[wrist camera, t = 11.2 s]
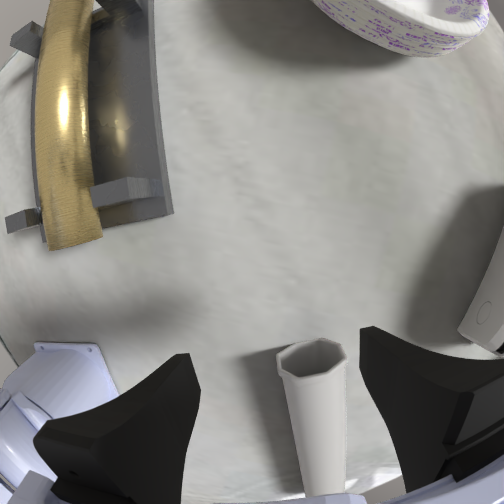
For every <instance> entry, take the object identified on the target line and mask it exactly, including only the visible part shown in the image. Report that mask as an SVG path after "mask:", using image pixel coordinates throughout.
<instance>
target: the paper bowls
mask: <svg viewBox="0 0 504 504" xmlns="http://www.w3.org/2000/svg"><path fill="white" fill-rule="evenodd" d="M311 1H313V2H314V3H315V4H316V6H318V7H319V8H320V9H321V10H322V11H323V12H324V13H326V14H327V15H328V16H329V17H330V18H332V19H333V20H334V21H336V22H337V23H338V24H340V25H341V26H344V28H346V29H347V30H350V31H352V32H353V33H355V34H357V35H359V36H361V37H362V38H364V39H366V40H368V41H370V42H373V43H375V44H377V45H379V46H381V47H384V48H386V49H388V50H391V51H394V52H397V53H401V54H404V55H408V56H414V57H426V58H430V57H438V56H442V55H446V54H448V53H450V52H452V51H454V50H456V49H457V48H459V47H461V46H463V45H464V44H466V43H467V42H468V41H470V40H471V39H472V38H474V37H476V36H478V35H480V34H481V33H482V32H483V31H484V29H485V28H486V26H487V24H488V21H489V7H488V3H487V0H311Z"/></svg>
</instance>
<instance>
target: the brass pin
mask: <svg viewBox="0 0 504 504" xmlns="http://www.w3.org/2000/svg"><path fill="white" fill-rule="evenodd" d="M93 4H94V0H50V4H49V8H48V12H47V16H46V21H45V26H44V31H43V36H42V42H41V48H40V55H39V63H38V72H37V83H36V98H35V152H36V168H37V179H38V189H39V197H40V205H41V211H42V218H43V224H44V229H45V235H46V240H47V245H48V249H49V251H53V250H58V249H63V248H67V247H71V246H75V245H78V244H82V243H86V242H89V241H92V240H96V239H99V238H101V237H103V233H102V228H101V223H100V217H99V211H98V207H97V208H93V206H92V199H91V193H90V187H93V186H95V185H94V177H93V169H92V159H91V149H90V136H89V118H88V58H89V41H90V29H91V20H92V11H93Z"/></svg>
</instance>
